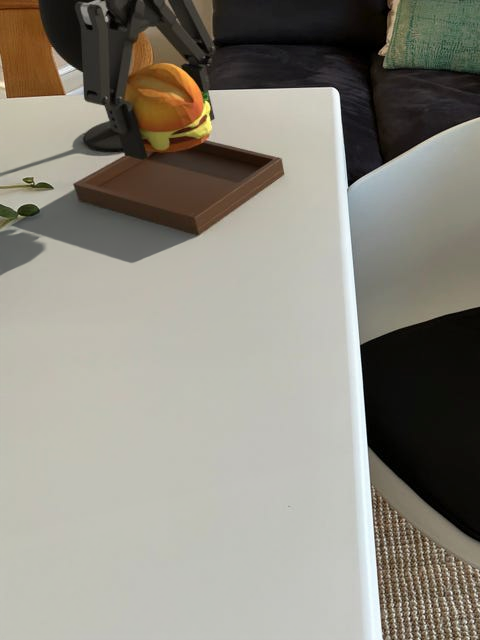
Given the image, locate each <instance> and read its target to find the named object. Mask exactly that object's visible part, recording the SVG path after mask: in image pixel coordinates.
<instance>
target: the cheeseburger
mask: <svg viewBox="0 0 480 640" xmlns="http://www.w3.org/2000/svg"><path fill="white" fill-rule="evenodd" d="M208 92H209V91H208ZM208 92H201V91H200V89H199V87H198V86H197V84H196V83H195V81H194V80H193V79H192V78H191V77H190V76H189V75H188V74H187V73H186V72H185V71H184V70H182V68H181V67H179V66H178V65H175V64H174V63H167V62H157V63H152V64H149V65H147V66H144V67H141V68H140V69H137V70H136V71H133V72H132V73H129V74H128V80H127V86H126V93H125V99H124V101H129V102H132V106H133V109H134V113H135V116H136V119H137V123H138V126H139V130H140V133H141V136H142V140H143V143H144V146H145V150H146V151H153V152H176V151H181V150H185V149H189V148H192V147H194V146H197V145H199V144H201V143H203V142H204V141H205V140H208V139H209V138H210V134H211V132H212V129H213V125H212V121H210V117H209V112H210V105H209V103H208V102H207V100H209V98H208V96H210V92H209V93H208ZM208 94H209V95H208Z"/></svg>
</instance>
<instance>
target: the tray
mask: <svg viewBox="0 0 480 640" xmlns="http://www.w3.org/2000/svg"><path fill="white" fill-rule="evenodd" d="M146 153H147V158H145V159H144V160H142V159H138V158H134V157H130V156H126V155H125V154H124V155H122V156H121V157H119V158H116V160H114V161H112V162H110V163H108V164H107V165H105V166H103V167H100V168H99V169H98V170H96V171H93V172H92V173H90V174H88V175H86V176H85V177H83V178H81V179H79V180H77V181H75V182H74V183H72V185H73V188H74V191H75V193H76V196H77V199H78V201H79V202H82V203H85V204H90V205H93V206H96V207H99V208H103V209H106V210H110V211H114V212H117V213H121V214H124V215H127V216H131V217H134V218H138V219H141V220H145V221H148V222H152V223H155V224H157V225H158V224H159V225H162V226H165V227H169V228H172V229H175V230H179V231H183V232H186V233H189V234H194V235H197V236H200V235H201V234H203V233H205V232H206V231H207V230H209V229H210V228H211V227H213V226H214V225H216V224H218V223H219V221H221V220H223V219H224V218H225V217H227V216H229V215H230V214H231V213H232V212H234V211H235V210H237V209H238V208H240V207H241V206H243V205H244V204H246V203H247V202H248V201H250V200H251V199H252V198H253V197H255V196H256V195H258V194H259V193H261V192H262V191H263V190H264V189H266V188H268V187H269V186H270V185H272V184H274V183H275V182H276V181H278V180H279V179H280V178H282V177H283V176H285V169H284V164H283V163H284V162H283V158H282V157H278V156H273V155H270V154H265V153H263V152H258V151H253V150H249V149H245V148H241V147H236V146H232V145H228V144H223V143H220V142H216V141H211V140H208V139H206V140H205V141H204V142H203V143H201V144H199V145H197V146H194V147H192V148H189V149H185V150H181V151H176V152H153V151H146Z"/></svg>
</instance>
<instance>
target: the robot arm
mask: <svg viewBox="0 0 480 640" xmlns="http://www.w3.org/2000/svg"><path fill="white" fill-rule="evenodd" d="M167 2H168V3H169V5H168V4H167V3H166V0H95V1H92V2H90V3H84V2H77V3H76V5H75V10H76V13H77V16H78V20H79V23H80V26H81V42H82V65H83V72H82V83H83V84H82V85H83V86H82V87H83V99H84V100H85V102H86V103H91V104H95V105H99V106H104V109H105V112H106V115H107V118H108V121H110V124H111V128H112V129H113V131H114V132H117V133H118V135H119V138H120V141H121V144H122V147H123V151H122V152H123V153H124V156H125V155H126V156H130V157H134V158H138V159H142V160H144V159H145V158H147V153H146V150H145V146H144V143H143V140H142V136H141V133H140V130H139V126H138V123H137V119H136V116H135V113H134V109H133V106H132V102H129V101H124V99H125V93H126V86H127V80H128V75H130V68H131V62H132V54H133V48H134V44H135V43H137V42H138V40H139V35H140V33H141V34H142V32H145V31H146V30H147V29H148V28H154V27H156V29H157V30H158V31H159V32H160V33H161V34H162V35H163V37H164V38H165V39H166V40H167V41H168V42H169V43H170V45H171V46H172V47H173V48H174V50H176V51H177V53H179V55H180V56H181V57H182V58H183V60H184V61H185V62H187V63H182V64H181V65H180V68H181V69H182V70H184V71H185V72H186V73H187V74H188V75H189V76H190V77H191V78H192V79H193V80H194V81H195V83H196V84H197V86H198V87H199V89H200V91H201V92H208V93H209V94H208V95H209V96H208V98H209V100H207V102H208V103H209V105H210V112H209V117H210V121H211V122H212V121H214V120H215V114H214V109H213V105H212V101H211V96H210V91H209V90H210V87H211V84H210V80H209V75H208V70H207V67H209V66H211V65H212V63H213V58H212V56H211V55H215V53H216V45H215V44H214V42H213V39H212V38H211V36H210V34H209V31H208V30H207V27H206V26H205V23H204V21H203V20H202V18H201V16H200V14H199V12H198V10H197V7H196V6H195V4H194V1H193V0H167ZM106 14H107V16H106ZM118 27H120V28H122V29H123V30H126V31H119V30H118ZM206 66H207V67H206ZM112 89H113V93H111V92H112Z"/></svg>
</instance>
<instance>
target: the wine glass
mask: <svg viewBox="0 0 480 640" xmlns="http://www.w3.org/2000/svg"><path fill="white" fill-rule="evenodd" d="M92 1H95V0H37V3H38V11H39V16H40V20H41V24H42V27H43V30H44V33H45V35H46V37H47V40H48V42H49V44H50V46H51V47H52V48H53V50H54V51H55V52H56V53H57V55H59V58H61V59H62V60H63V61H65V62H66V63H67V64H68V65H69V66H71V67H72V68H74V69H76V70H77V71H79V72H80V73H83V65H82V42H81V26H80V23H79V20H78V16H77V13H76V10H75V5H76V3H77V2H84V3H90V2H92ZM106 16H107V14H106ZM118 30H119V31H126V30H123V29H122V28H120V27H118ZM111 93H113V89H112V92H111ZM82 136H83V137H82V142H83V145H85V146H86V147H87V148H88V149H90V150H93V151H97V152H104V153H106V152H107V153H115V152H124V151H123V147H122V144H121V141H120V138H119V135H118V133H117V132H114V131H113V129H112V128H111V124H110V121H109V120H107V121H105V122H102V123H99V124H96V125H94V126H93V127H91V128H89V129H88V130H87V131H86V132H85V133H84V134H83V135H82Z"/></svg>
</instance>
